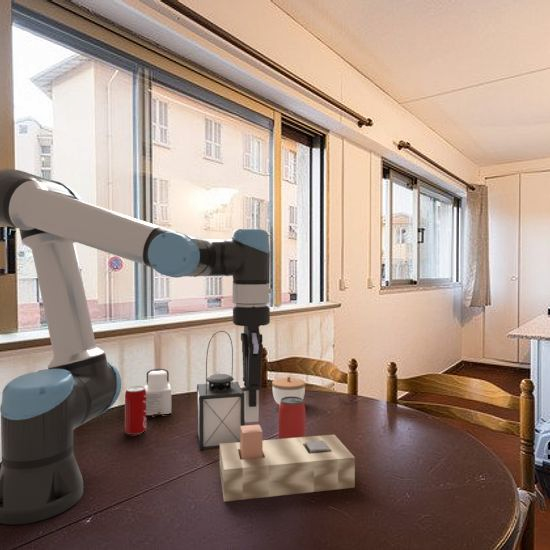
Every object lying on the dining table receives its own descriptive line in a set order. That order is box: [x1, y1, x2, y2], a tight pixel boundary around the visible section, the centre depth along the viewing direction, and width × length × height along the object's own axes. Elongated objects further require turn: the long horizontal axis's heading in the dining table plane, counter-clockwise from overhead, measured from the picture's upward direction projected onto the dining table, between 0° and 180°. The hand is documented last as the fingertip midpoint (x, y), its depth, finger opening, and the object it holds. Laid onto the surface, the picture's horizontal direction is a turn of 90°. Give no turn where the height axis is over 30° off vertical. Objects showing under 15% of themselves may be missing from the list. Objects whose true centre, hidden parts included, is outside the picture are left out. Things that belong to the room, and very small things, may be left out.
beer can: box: [278, 396, 306, 439], centre depth 101 cm, size 7×7×12 cm
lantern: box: [196, 330, 245, 452], centre depth 106 cm, size 11×11×28 cm
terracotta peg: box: [240, 424, 264, 459], centre depth 84 cm, size 4×4×6 cm
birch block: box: [219, 434, 356, 502], centre depth 86 cm, size 26×12×6 cm, turn 101°
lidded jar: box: [271, 376, 306, 405], centre depth 134 cm, size 11×11×9 cm
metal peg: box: [305, 441, 329, 454], centre depth 87 cm, size 4×4×6 cm
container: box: [144, 368, 172, 415], centre depth 127 cm, size 8×8×13 cm
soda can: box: [124, 385, 147, 435], centre depth 111 cm, size 6×6×12 cm
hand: (251, 420), depth 84 cm, fingers closed
